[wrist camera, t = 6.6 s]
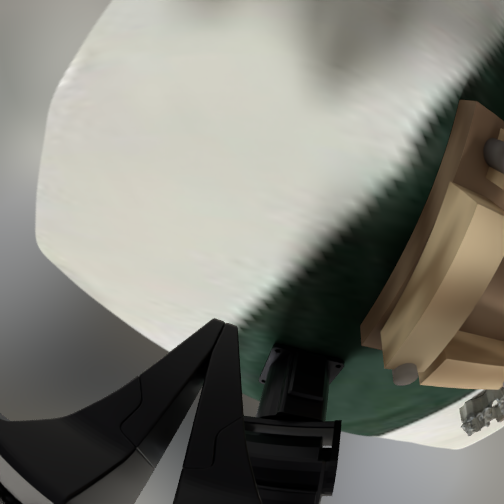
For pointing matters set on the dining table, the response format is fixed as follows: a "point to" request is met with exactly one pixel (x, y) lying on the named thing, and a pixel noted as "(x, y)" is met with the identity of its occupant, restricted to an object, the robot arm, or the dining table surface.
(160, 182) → the dining table surface
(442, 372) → the wooden slat frame
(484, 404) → the grey jagged rock
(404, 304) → the hinged leg
